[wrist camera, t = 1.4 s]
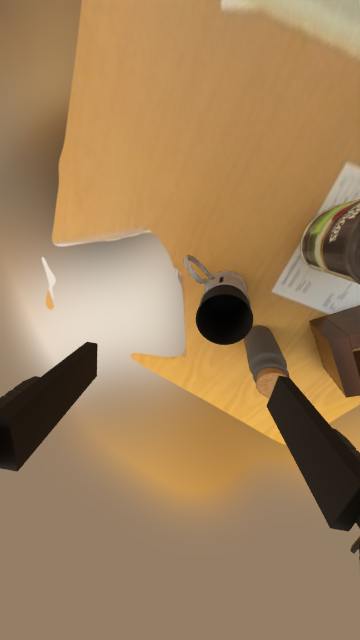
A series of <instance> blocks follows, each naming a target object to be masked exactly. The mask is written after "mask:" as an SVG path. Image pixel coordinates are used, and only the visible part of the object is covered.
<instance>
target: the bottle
mask: <svg viewBox="0 0 360 640" xmlns="http://www.w3.org/2000/svg"><path fill="white" fill-rule="evenodd" d="M244 339H245V346H246V352H247V358H248V363H249V368H250V371H251V373H252V374H253V378H254V381H255V383H256V387H257V390H258V391H259V392H260V393H261V394H262V395H264V396H266V397H269V398H270V396H271V394H272V391H273V389H274V386H275V383H276V381H277V378H278V376H284V377H289V373H288V371H287V364H286V361H285V359H284V357H283V354H282V352H281V350H280V348H279V346H278V344H277V342H276V340H275V338H274V336H273V334H272V332H271V331H270V330H269V329H268V328H266V327H264V326H254V327H252V328H251V330H250V332H249V333H248V334H247V336H246V337H245V338H244Z"/></svg>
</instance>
